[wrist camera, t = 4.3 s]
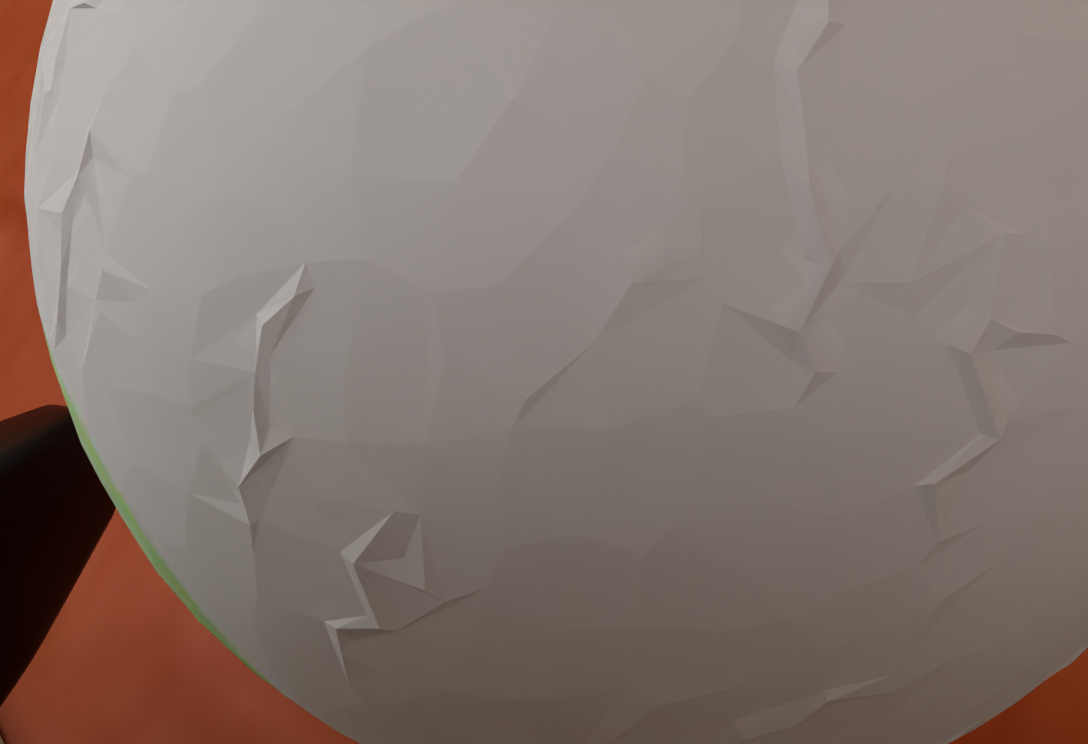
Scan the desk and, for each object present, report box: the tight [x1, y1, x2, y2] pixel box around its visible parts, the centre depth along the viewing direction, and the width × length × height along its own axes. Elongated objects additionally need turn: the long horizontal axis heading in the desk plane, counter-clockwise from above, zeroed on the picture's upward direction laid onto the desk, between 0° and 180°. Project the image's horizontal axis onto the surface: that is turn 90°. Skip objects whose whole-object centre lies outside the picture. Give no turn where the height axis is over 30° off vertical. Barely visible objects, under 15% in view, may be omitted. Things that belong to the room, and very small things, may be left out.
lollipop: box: [24, 0, 1088, 744], centre depth 11 cm, size 7×7×15 cm
